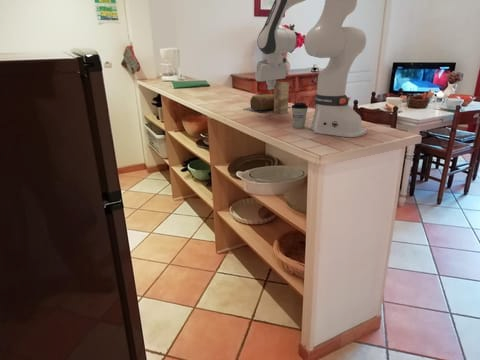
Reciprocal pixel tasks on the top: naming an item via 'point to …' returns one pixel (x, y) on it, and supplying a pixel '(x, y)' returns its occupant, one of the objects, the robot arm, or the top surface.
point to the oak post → (281, 97)
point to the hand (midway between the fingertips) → (270, 89)
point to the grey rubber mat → (260, 110)
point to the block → (262, 102)
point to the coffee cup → (299, 114)
